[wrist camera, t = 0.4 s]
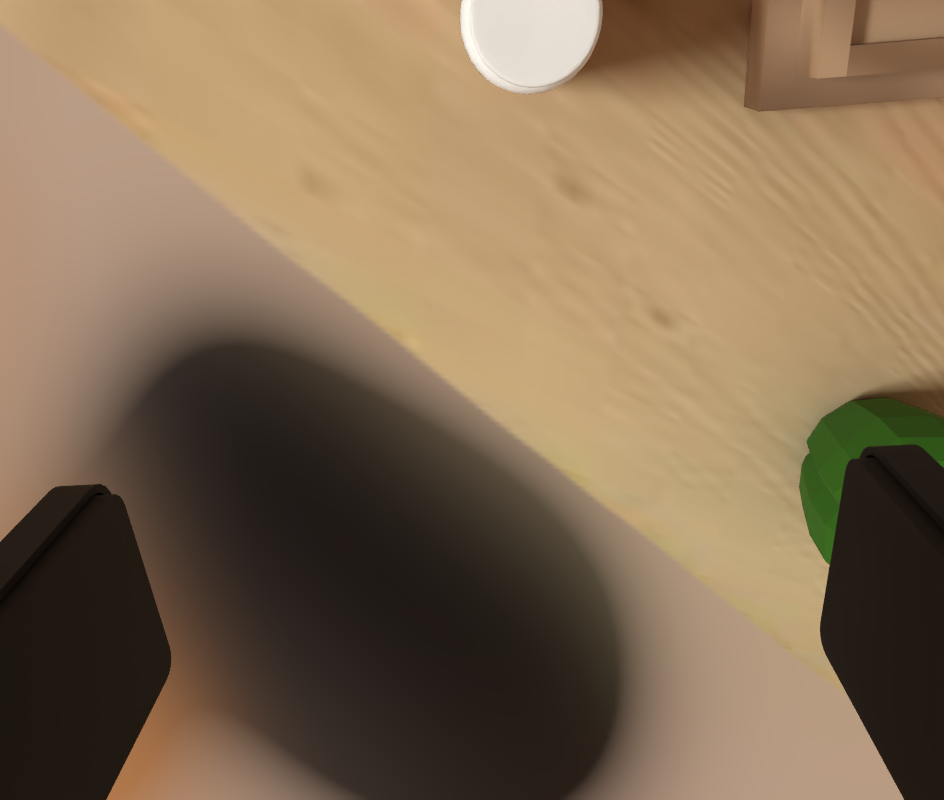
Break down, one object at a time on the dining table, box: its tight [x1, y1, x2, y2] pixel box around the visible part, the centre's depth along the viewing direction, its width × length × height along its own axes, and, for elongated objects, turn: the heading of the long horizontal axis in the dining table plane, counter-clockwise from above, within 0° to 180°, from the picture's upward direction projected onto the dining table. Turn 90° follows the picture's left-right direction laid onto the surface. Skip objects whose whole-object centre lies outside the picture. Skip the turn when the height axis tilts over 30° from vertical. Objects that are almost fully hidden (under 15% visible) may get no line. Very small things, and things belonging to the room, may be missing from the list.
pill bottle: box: [460, 0, 603, 95], centre depth 27 cm, size 5×5×8 cm
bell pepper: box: [799, 398, 944, 565], centre depth 35 cm, size 8×8×10 cm
